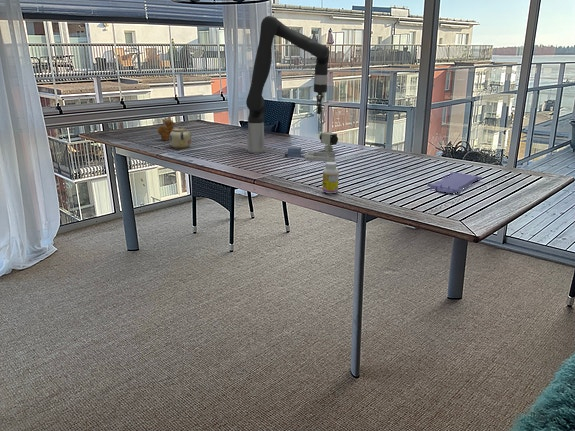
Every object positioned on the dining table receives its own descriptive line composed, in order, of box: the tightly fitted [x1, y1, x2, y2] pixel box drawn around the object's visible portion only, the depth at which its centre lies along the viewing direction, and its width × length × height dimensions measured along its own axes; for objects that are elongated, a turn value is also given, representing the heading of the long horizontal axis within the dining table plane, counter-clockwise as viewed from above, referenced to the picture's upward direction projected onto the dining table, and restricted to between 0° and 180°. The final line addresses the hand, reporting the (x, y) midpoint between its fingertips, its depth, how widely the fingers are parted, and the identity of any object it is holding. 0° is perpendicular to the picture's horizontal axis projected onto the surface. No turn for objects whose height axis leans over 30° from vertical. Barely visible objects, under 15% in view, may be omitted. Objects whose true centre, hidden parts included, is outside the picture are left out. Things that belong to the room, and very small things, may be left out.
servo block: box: [283, 146, 305, 158], centre depth 265 cm, size 11×4×5 cm, turn 83°
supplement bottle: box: [321, 161, 340, 194], centre depth 197 cm, size 7×7×13 cm
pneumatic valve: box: [319, 130, 339, 152], centre depth 277 cm, size 6×12×12 cm, turn 36°
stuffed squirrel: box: [157, 119, 177, 142], centre depth 310 cm, size 10×14×13 cm
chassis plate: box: [304, 150, 336, 162], centre depth 262 cm, size 16×15×2 cm
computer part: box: [426, 171, 483, 194], centre depth 209 cm, size 30×4×15 cm
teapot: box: [168, 125, 193, 150], centre depth 286 cm, size 20×14×13 cm
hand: (319, 113), depth 263 cm, fingers open, 8 cm apart
